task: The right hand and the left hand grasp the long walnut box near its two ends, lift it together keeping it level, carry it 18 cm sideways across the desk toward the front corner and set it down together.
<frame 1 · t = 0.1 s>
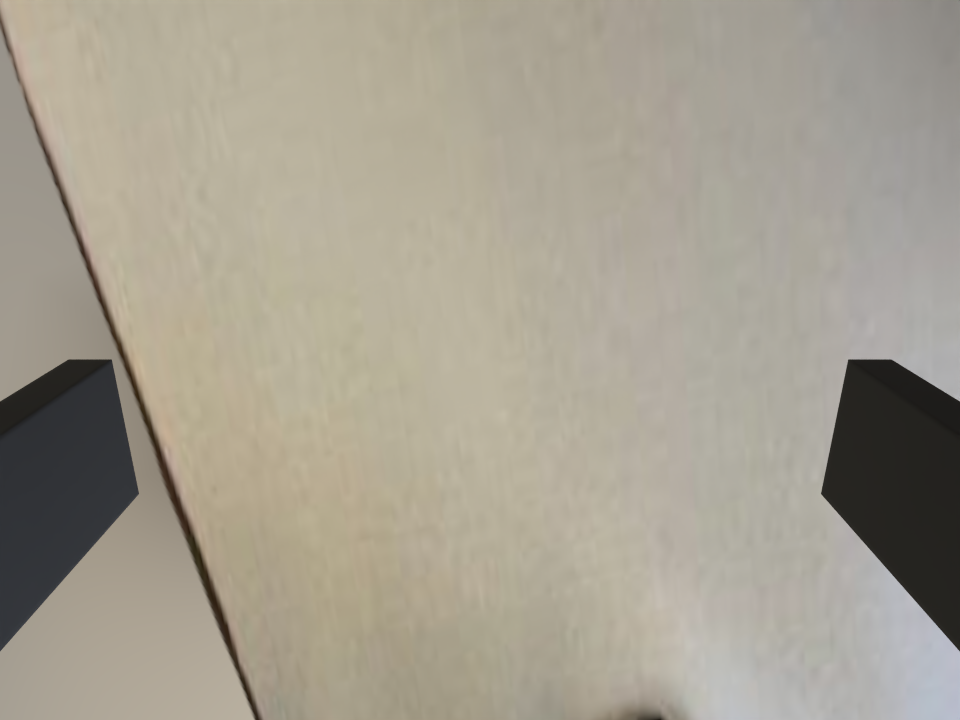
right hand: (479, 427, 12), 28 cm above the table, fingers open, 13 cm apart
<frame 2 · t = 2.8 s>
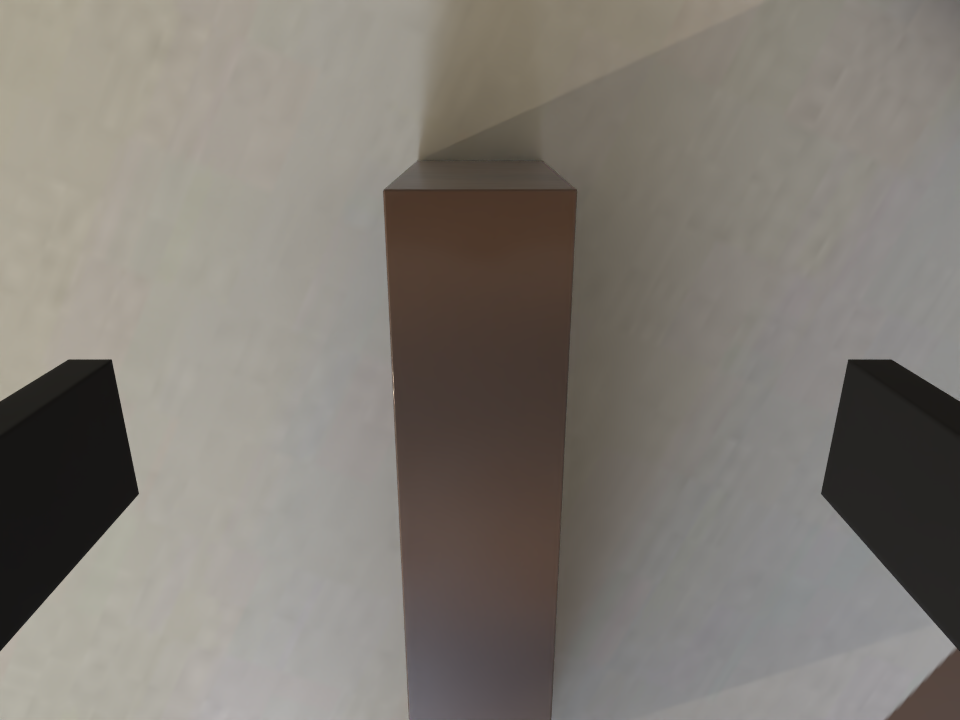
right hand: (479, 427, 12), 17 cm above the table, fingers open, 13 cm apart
walnut box: (480, 508, 32), on the table
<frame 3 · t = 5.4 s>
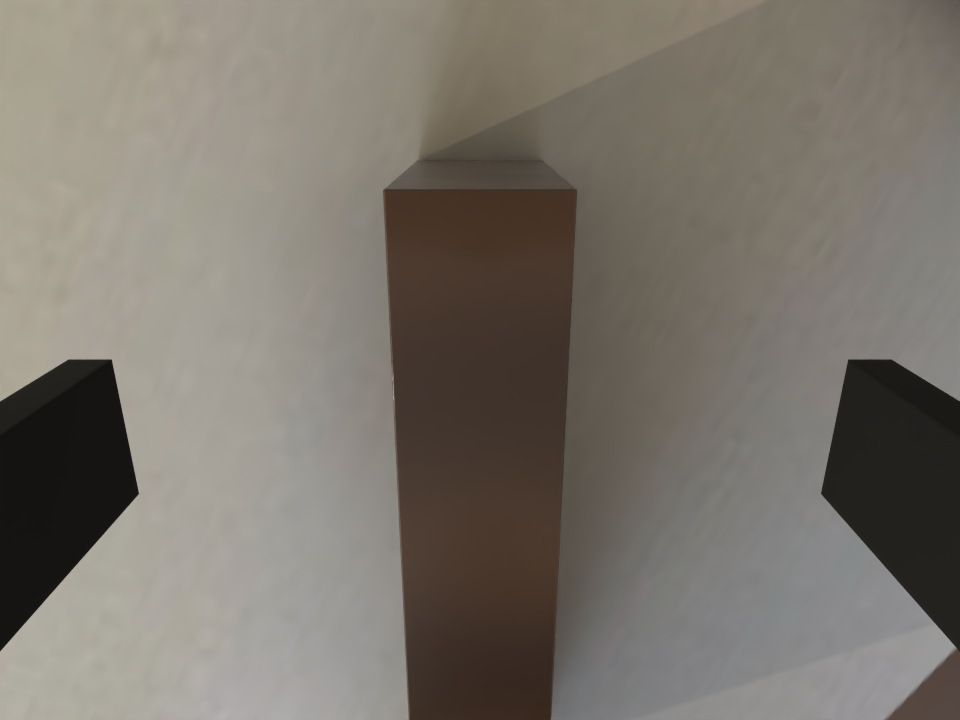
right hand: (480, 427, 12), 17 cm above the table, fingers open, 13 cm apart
walnut box: (479, 508, 32), on the table, touching left hand
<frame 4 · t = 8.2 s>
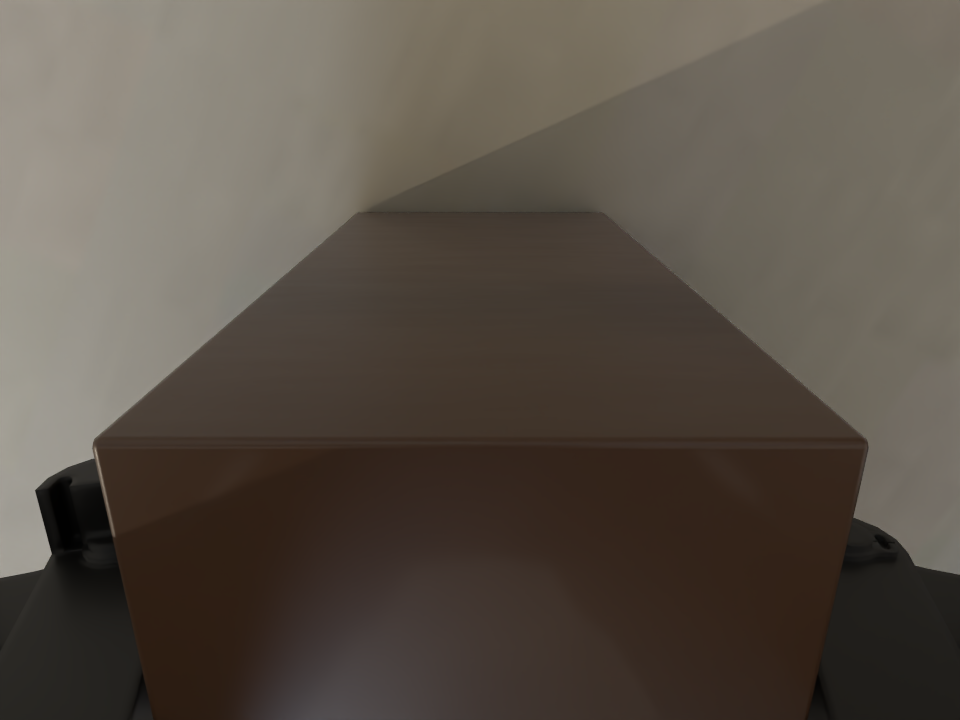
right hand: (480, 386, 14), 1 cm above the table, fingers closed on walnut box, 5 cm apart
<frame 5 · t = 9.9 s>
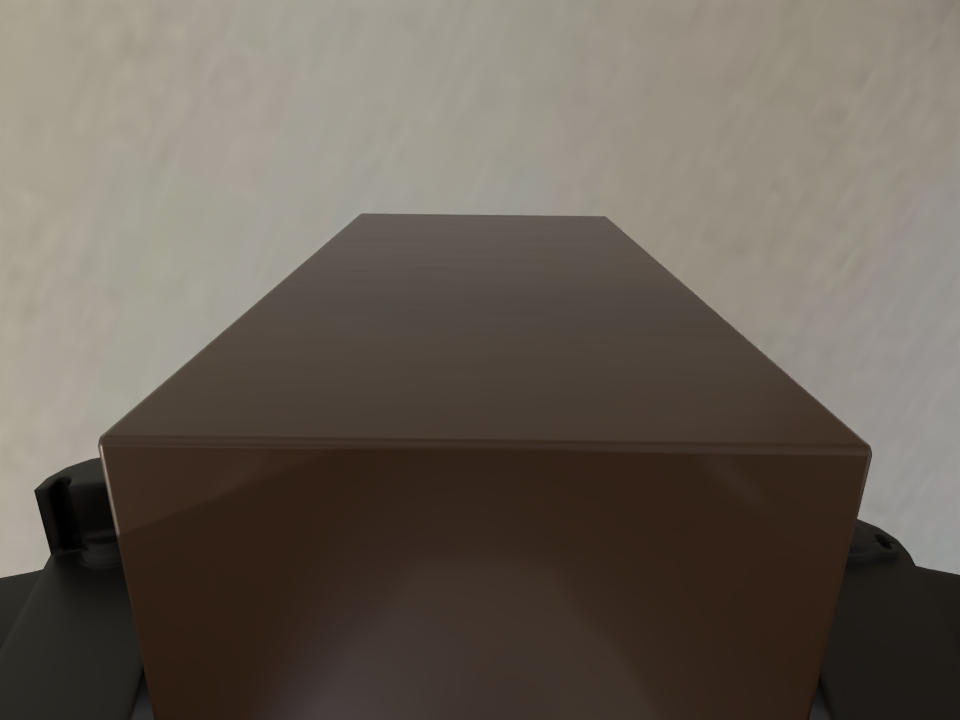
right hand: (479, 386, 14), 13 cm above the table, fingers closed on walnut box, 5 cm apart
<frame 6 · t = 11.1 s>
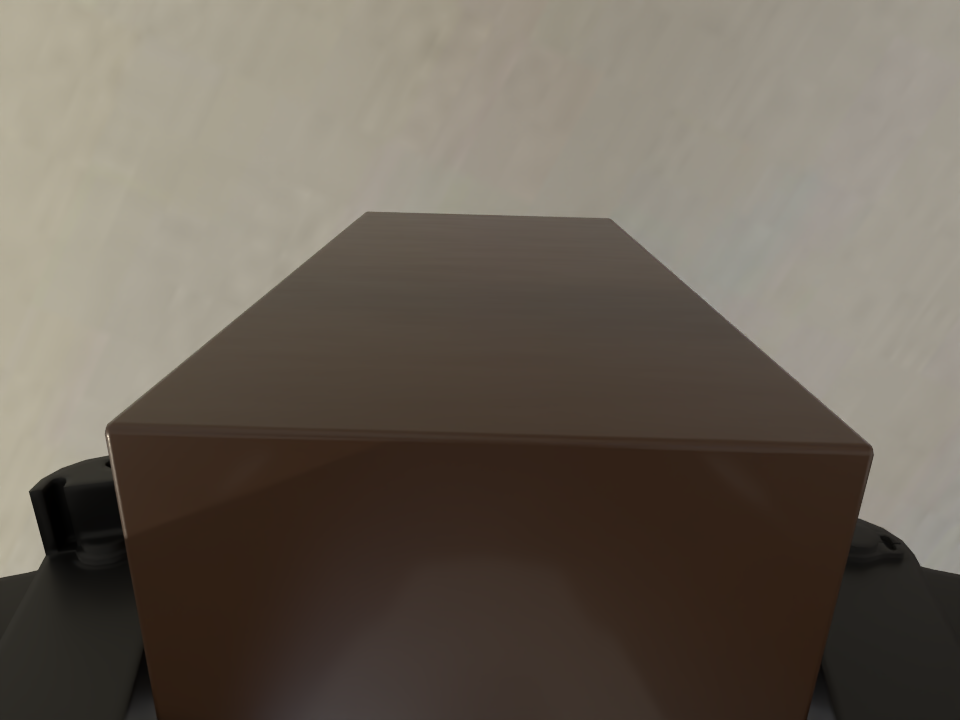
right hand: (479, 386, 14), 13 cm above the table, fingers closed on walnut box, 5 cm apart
when the right hand's fingers open (2 cm above the table, at t = 14.4 s): walnut box stays where it is, on the table.
when the left hand's fingers open (6 cm above the table, at t = 14.6 s): walnut box stays where it is, on the table.
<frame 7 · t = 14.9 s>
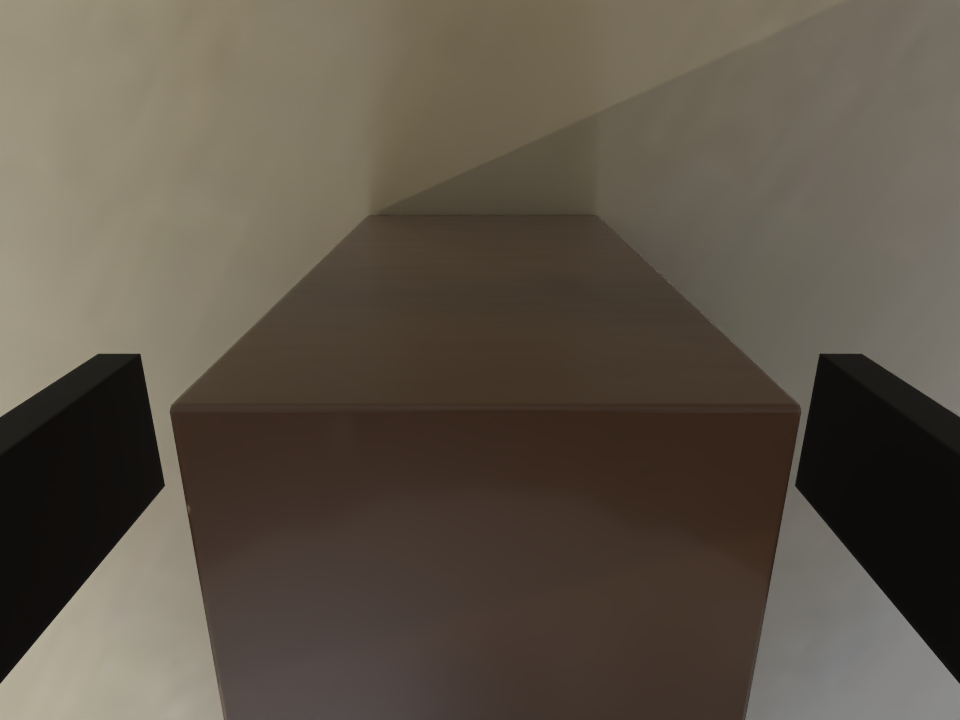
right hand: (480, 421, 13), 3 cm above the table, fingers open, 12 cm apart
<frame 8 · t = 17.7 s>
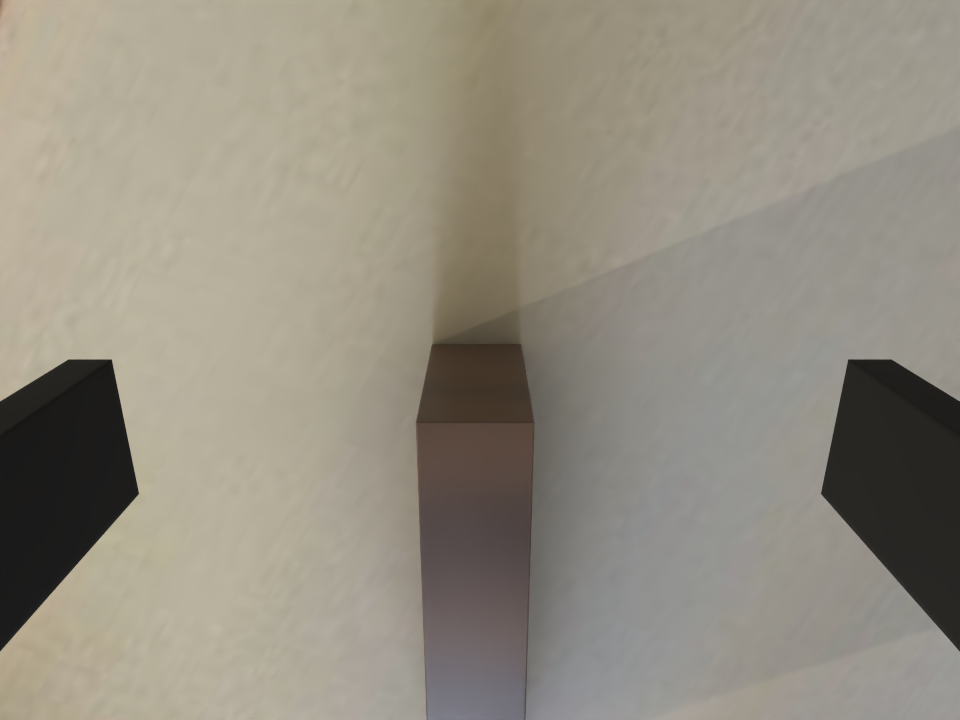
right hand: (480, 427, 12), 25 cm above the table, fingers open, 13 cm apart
walnut box: (477, 579, 44), on the table
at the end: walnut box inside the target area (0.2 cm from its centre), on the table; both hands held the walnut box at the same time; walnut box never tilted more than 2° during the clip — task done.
